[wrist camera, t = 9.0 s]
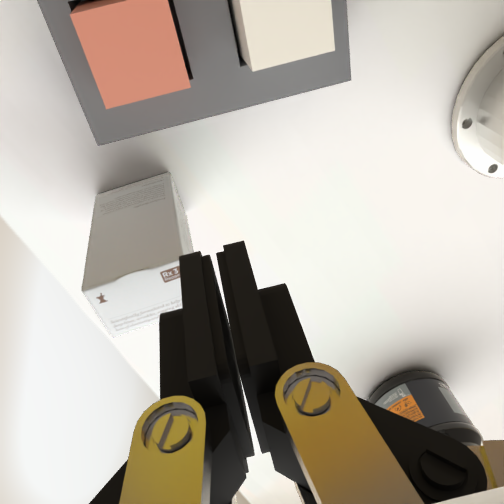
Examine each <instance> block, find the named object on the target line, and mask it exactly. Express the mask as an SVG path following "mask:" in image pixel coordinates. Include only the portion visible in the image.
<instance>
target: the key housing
mask: <svg viewBox="0 0 504 504" xmlns="http://www.w3.org/2000/svg"><path fill="white" fill-rule="evenodd" d="M37 1H38V4H39V6H40V8H41V11H42V13H43V16H44V18H45V20H46V23H47V25H48V28H49V30H50V32H51V35H52V37H53V40H54V42H55V44H56V47H57V49H58V52H59V54H60V56H61V59H62V61H63V64H64V66H65V68H66V71H67V73H68V76H69V78H70V80H71V83H72V85H73V88H74V90H75V92H76V95H77V97H78V100H79V102H80V104H81V107H82V109H83V112H84V114H85V116H86V119H87V121H88V123H89V126H90V128H91V131H92V133H93V135H94V138H95V140H96V143H97V145H98V146H100V145H104V144H108V143H112V142H115V141H119V140H123V139H127V138H131V137H135V136H139V135H142V134H146V133H150V132H154V131H158V130H162V129H165V128H169V127H173V126H177V125H181V124H185V123H189V122H192V121H196V120H200V119H204V118H208V117H212V116H216V115H219V114H223V113H227V112H231V111H235V110H239V109H243V108H246V107H250V106H254V105H258V104H262V103H266V102H270V101H273V100H277V99H281V98H285V97H289V96H293V95H296V94H300V93H304V92H308V91H312V90H316V89H320V88H323V87H327V86H331V85H335V84H339V83H343V82H347V81H350V80H351V69H350V53H349V36H348V20H347V3H346V0H331V5H332V18H333V31H334V43H335V51H332V52H328V53H324V54H320V55H316V56H312V57H308V58H304V59H300V60H296V61H293V62H289V63H285V64H281V65H277V66H273V67H269V68H265V69H261V70H257V71H254V72H253V71H252V70H251V69H250V67H249V66H248V65H247V63H246V62H245V61H244V60H243V58H242V57H241V56H240V54H239V53H238V48H237V43H236V37H235V32H234V27H233V22H232V17H231V12H230V7H229V2H228V0H168V3H169V7H170V11H171V14H172V18H173V22H174V26H175V29H176V33H177V37H178V41H179V44H180V48H181V52H182V56H183V59H184V63H185V67H186V71H187V74H188V78H189V82H190V86H191V88H187V89H183V90H180V91H176V92H172V93H168V94H164V95H160V96H156V97H152V98H148V99H144V100H141V101H137V102H133V103H129V104H125V105H121V106H117V107H113V108H109V109H106V107H105V105H104V102H103V99H102V97H101V94H100V92H99V89H98V86H97V84H96V81H95V79H94V76H93V73H92V71H91V68H90V66H89V63H88V60H87V58H86V55H85V53H84V50H83V48H82V45H81V42H80V40H79V37H78V35H77V32H76V29H75V27H74V24H73V22H72V19H71V16H70V14H71V12H72V11H73V10H74V8H75V7H76V6H77V5H78V3H79V2H80V1H84V0H37Z"/></svg>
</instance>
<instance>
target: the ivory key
mask: <svg viewBox="0 0 504 504" xmlns="http://www.w3.org/2000/svg"><path fill="white" fill-rule="evenodd" d="M228 2H229V7H230V12H231V17H232V22H233V27H234V32H235V37H236V43H237V48H238V53H239V54H240V56H241V57H242V58H243V60H244V61H245V62H246V63H247V65H248V66H249V67H250V69H251V70H252V71H253V72H254V71H257V70H261V69H265V68H269V67H273V66H277V65H281V64H285V63H289V62H293V61H296V60H300V59H304V58H308V57H312V56H316V55H320V54H324V53H328V52H332V51H335V43H334V31H333V18H332V5H331V0H228Z"/></svg>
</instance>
